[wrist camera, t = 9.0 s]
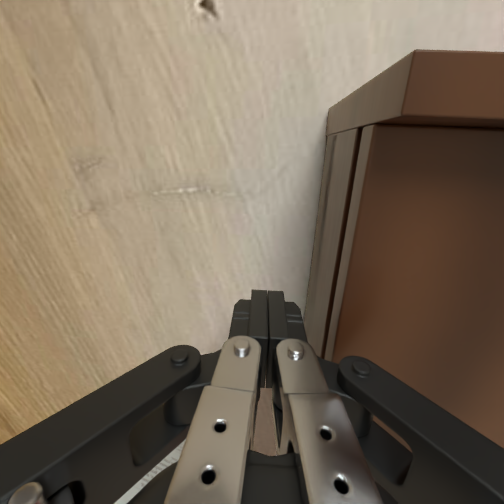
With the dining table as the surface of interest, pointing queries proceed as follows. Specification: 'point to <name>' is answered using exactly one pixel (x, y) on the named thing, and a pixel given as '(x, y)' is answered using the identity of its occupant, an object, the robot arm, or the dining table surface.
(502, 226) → the storage chest
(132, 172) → the dining table surface
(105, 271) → the dining table surface
